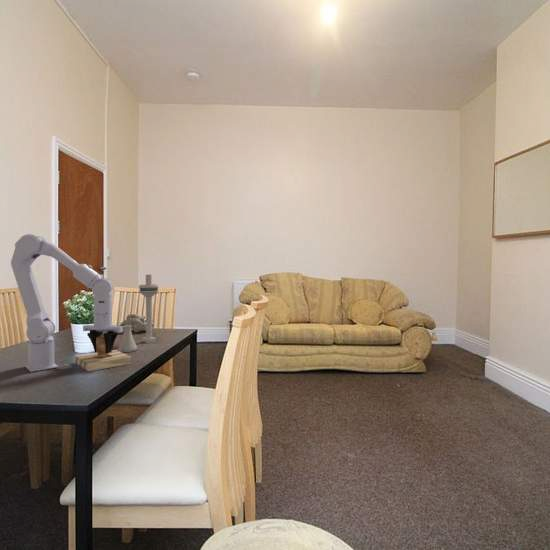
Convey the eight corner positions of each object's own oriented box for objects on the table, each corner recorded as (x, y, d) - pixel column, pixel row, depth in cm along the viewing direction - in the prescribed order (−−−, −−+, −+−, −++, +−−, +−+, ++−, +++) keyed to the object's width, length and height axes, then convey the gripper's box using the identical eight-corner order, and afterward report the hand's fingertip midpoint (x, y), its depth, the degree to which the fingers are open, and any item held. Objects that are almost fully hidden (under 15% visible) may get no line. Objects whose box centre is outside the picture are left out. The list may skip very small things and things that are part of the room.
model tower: (162, 341, 169) (162, 274, 168) (144, 344, 163) (144, 275, 162) (153, 338, 175) (152, 274, 174) (135, 341, 169) (135, 274, 168)
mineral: (149, 329, 186) (153, 310, 191) (114, 327, 186) (118, 308, 191) (155, 337, 197) (159, 319, 202) (122, 335, 197) (126, 317, 202)
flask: (128, 353, 147) (128, 327, 147) (113, 351, 149) (113, 326, 149) (141, 349, 154) (140, 325, 153) (126, 348, 156) (126, 324, 156)
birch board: (75, 363, 132) (75, 355, 132) (116, 356, 142) (116, 349, 142) (88, 371, 122) (88, 363, 122) (131, 363, 131) (131, 356, 131)
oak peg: (94, 363, 130) (93, 338, 129) (101, 360, 134) (100, 335, 133) (105, 364, 129) (104, 338, 129) (111, 361, 133) (110, 335, 133)
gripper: (76, 314, 129) (76, 353, 129) (113, 315, 126) (114, 356, 126) (90, 311, 136) (91, 349, 136) (126, 312, 133) (126, 351, 133)
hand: (103, 352), depth 132 cm, fingers closed on oak peg, 4 cm apart
